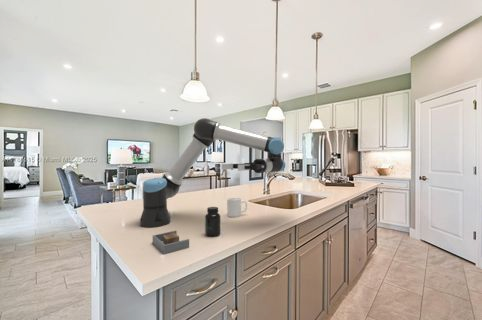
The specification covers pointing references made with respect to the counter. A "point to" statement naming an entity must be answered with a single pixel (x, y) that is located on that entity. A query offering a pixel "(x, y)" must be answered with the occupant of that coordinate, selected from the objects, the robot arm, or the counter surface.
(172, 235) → the brown wooden block
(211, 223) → the supplement bottle
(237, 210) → the cup
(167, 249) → the grey u-shaped bracket
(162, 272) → the counter surface
